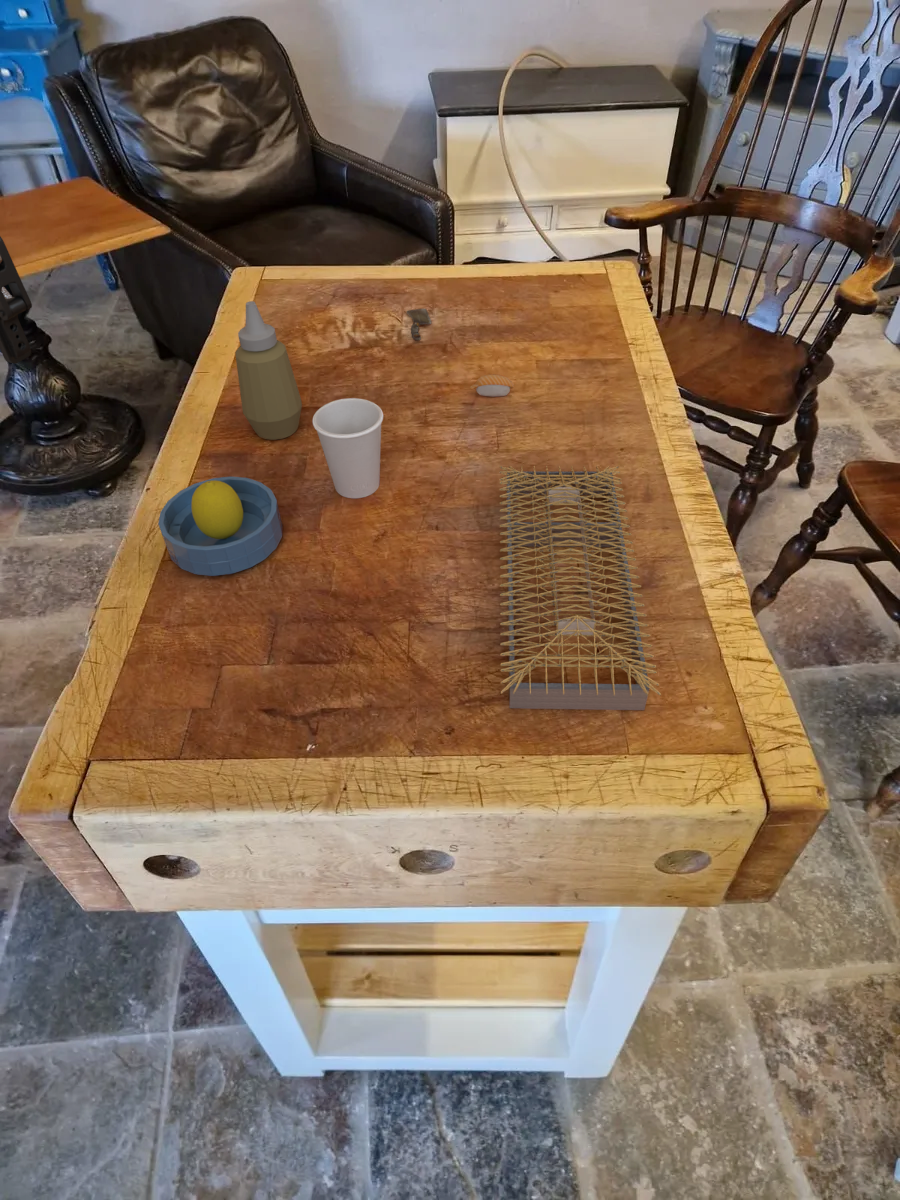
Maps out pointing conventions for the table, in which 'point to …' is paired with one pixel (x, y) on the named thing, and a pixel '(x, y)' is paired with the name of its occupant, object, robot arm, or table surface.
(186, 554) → the bowl
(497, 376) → the sushi
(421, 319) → the grey post
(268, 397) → the squeeze bottle
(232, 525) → the lemon
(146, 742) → the table surface
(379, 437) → the dixie cup
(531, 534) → the rafter model
